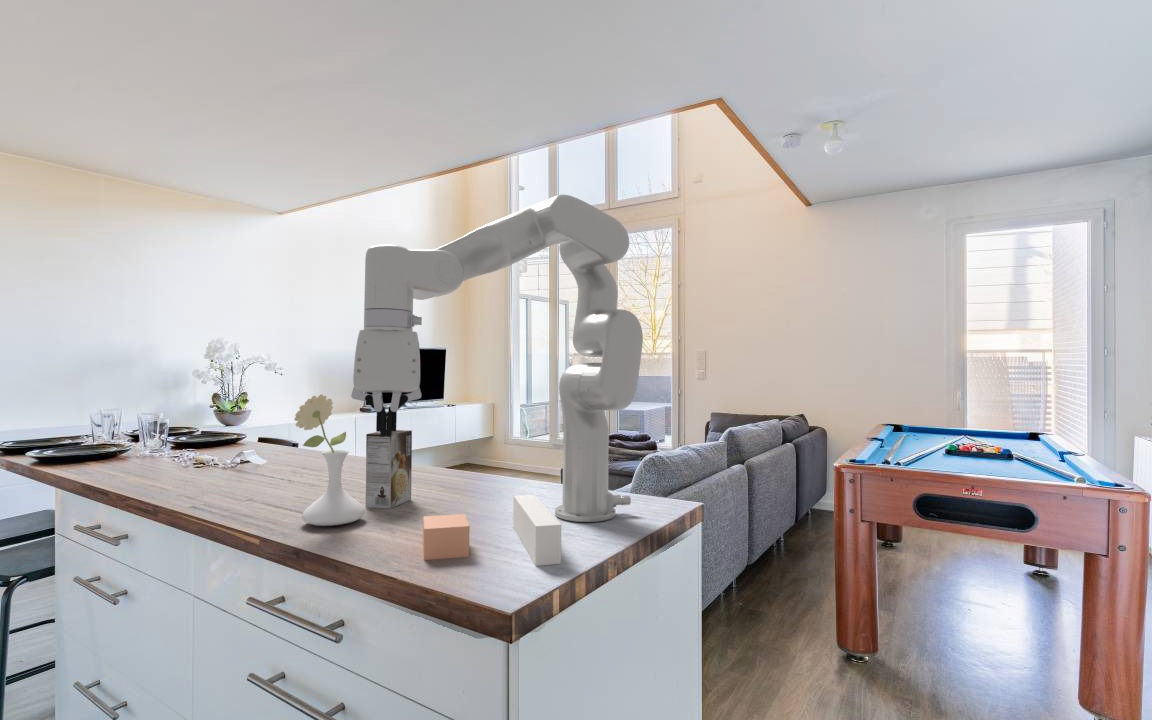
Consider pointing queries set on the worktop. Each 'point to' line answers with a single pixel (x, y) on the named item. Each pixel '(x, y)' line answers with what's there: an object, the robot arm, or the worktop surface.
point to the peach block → (445, 536)
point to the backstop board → (537, 530)
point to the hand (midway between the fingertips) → (386, 435)
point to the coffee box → (388, 469)
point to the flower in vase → (334, 502)
